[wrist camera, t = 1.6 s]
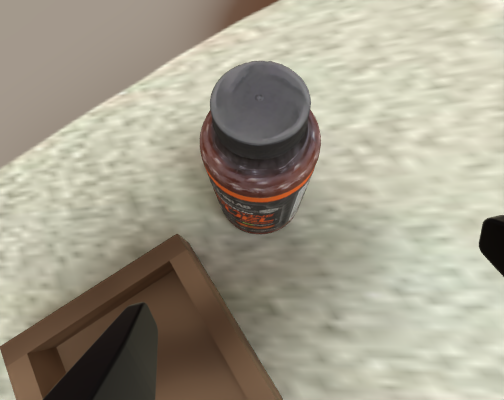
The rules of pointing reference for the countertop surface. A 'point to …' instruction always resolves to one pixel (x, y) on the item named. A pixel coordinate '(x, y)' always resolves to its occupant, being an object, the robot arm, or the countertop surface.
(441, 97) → the countertop surface
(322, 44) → the countertop surface
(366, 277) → the countertop surface
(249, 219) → the supplement bottle
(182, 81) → the countertop surface
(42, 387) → the tray
